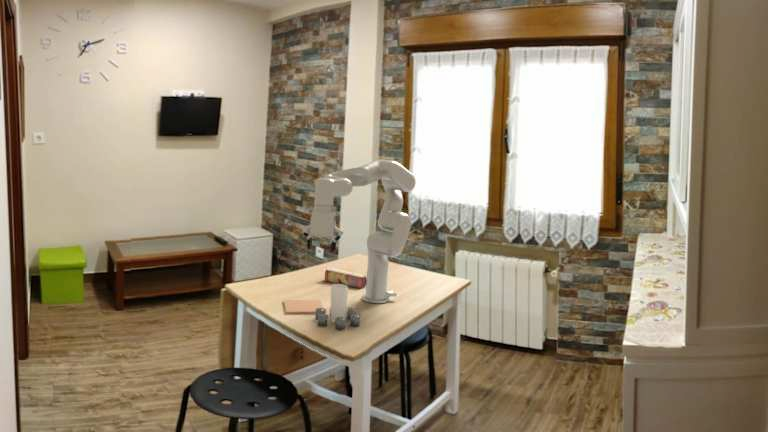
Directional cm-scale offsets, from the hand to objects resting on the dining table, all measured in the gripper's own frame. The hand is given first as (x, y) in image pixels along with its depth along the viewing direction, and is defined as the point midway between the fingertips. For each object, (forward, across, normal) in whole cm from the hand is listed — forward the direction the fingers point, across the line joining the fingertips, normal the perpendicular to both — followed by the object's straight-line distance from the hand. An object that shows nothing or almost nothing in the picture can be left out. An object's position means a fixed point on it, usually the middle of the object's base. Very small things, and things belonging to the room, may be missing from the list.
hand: (321, 249), depth 246 cm
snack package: (+28, 0, -51) cm, 58 cm away
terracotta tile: (+28, +8, -7) cm, 30 cm away
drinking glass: (+28, -10, +6) cm, 30 cm away
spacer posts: (+28, -10, +6) cm, 30 cm away
